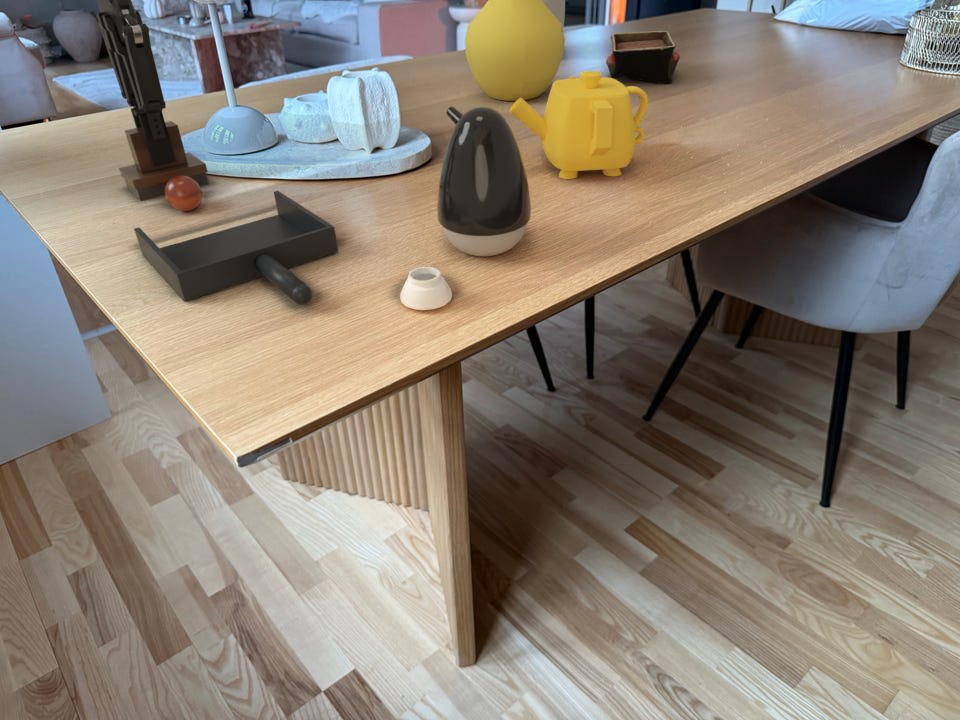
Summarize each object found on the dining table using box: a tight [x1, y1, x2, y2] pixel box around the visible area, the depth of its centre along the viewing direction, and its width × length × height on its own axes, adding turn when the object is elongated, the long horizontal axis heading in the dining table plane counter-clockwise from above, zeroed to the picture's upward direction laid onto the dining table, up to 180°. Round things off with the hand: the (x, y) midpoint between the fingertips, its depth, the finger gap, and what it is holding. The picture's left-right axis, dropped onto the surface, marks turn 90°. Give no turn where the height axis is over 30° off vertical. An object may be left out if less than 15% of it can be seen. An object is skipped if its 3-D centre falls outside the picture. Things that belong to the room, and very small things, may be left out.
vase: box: [464, 0, 566, 102], centre depth 125 cm, size 18×18×30 cm
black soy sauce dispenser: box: [436, 106, 532, 257], centre depth 74 cm, size 10×10×15 cm
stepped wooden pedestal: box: [118, 120, 210, 202], centre depth 92 cm, size 6×9×8 cm
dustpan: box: [133, 190, 339, 305], centre depth 74 cm, size 25×17×3 cm
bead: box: [164, 175, 203, 212], centre depth 89 cm, size 4×4×4 cm
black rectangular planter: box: [605, 30, 681, 85], centre depth 141 cm, size 14×18×10 cm
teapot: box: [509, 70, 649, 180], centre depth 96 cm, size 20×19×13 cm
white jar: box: [399, 266, 453, 311], centre depth 68 cm, size 5×3×5 cm
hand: (160, 159), depth 92 cm, fingers closed on stepped wooden pedestal, 2 cm apart
